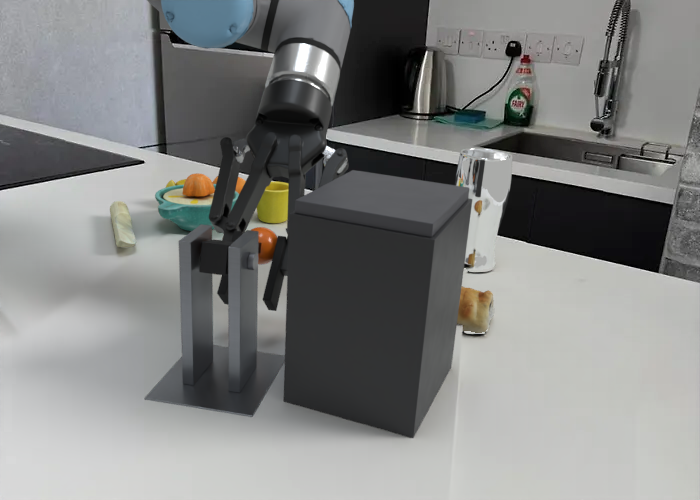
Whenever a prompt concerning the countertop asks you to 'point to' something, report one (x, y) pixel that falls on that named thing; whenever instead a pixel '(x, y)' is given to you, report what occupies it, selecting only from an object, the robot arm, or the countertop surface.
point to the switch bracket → (197, 335)
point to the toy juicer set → (197, 205)
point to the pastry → (475, 310)
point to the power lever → (217, 252)
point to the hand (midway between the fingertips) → (247, 301)
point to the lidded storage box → (374, 297)
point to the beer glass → (484, 200)
